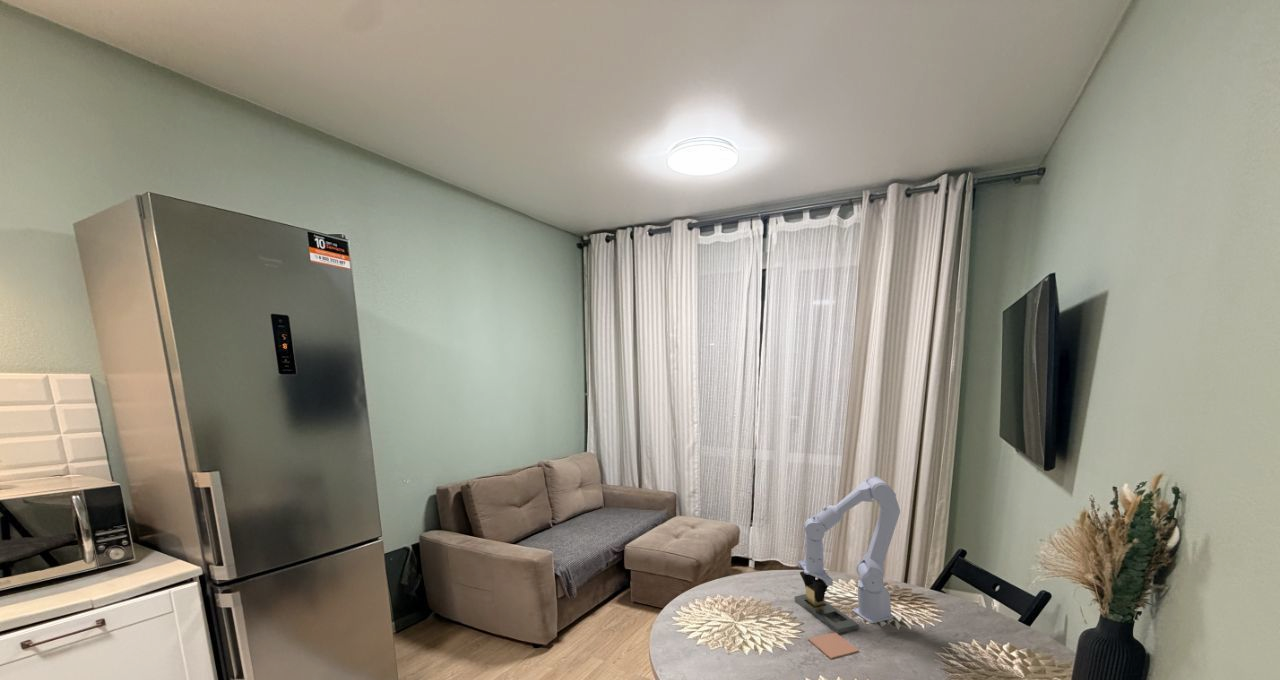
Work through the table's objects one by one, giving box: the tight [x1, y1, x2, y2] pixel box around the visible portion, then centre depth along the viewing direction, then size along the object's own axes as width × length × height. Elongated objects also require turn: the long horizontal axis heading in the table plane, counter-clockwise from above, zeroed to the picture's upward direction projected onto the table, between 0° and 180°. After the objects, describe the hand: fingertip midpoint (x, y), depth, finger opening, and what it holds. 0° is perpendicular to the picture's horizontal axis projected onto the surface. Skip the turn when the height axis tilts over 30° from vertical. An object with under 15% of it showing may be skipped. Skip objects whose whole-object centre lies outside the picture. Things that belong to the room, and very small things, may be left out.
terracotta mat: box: [808, 631, 860, 660], centre depth 128 cm, size 10×9×1 cm
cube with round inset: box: [805, 584, 825, 608], centre depth 149 cm, size 4×4×6 cm
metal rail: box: [794, 593, 860, 635], centre depth 144 cm, size 8×20×2 cm, turn 19°
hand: (815, 597), depth 149 cm, fingers closed on cube with round inset, 4 cm apart
